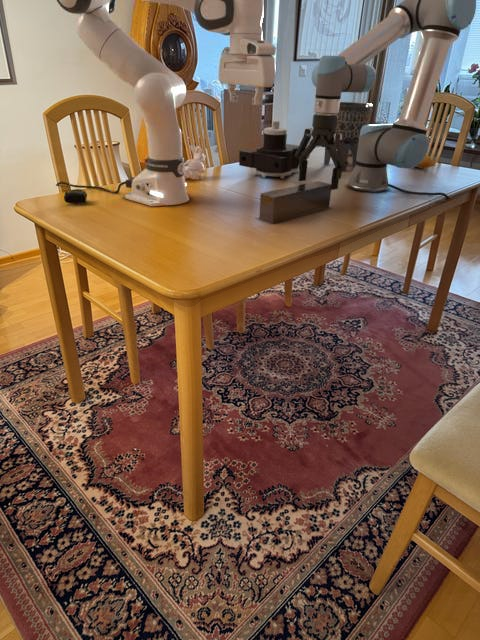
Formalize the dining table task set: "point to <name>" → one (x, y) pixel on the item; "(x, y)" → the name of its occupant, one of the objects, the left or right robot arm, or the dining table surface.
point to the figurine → (194, 164)
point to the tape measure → (75, 196)
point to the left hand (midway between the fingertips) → (244, 103)
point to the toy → (426, 162)
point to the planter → (350, 127)
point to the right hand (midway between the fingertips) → (317, 184)
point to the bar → (294, 201)
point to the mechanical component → (272, 154)
